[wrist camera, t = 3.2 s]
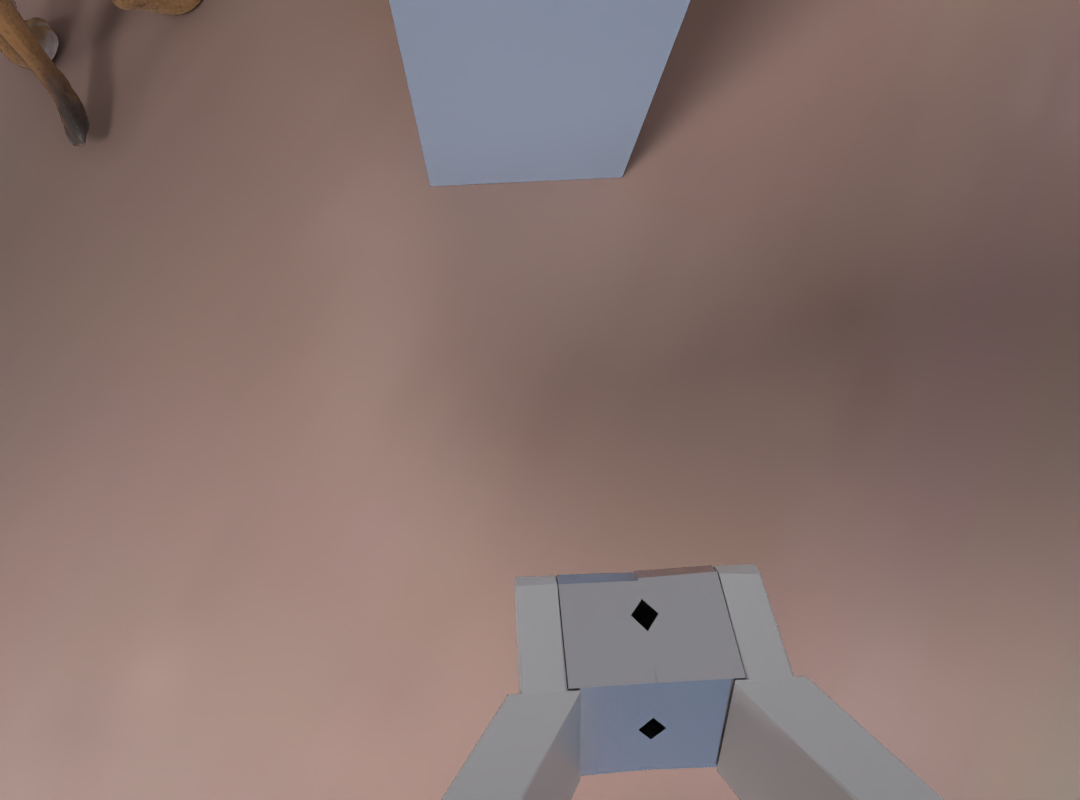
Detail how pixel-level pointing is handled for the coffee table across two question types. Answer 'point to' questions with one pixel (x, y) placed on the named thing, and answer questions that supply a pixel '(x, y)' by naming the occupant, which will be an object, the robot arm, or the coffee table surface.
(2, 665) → the coffee table surface
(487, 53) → the domino
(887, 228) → the coffee table surface
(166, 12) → the lion figurine
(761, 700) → the robot arm
